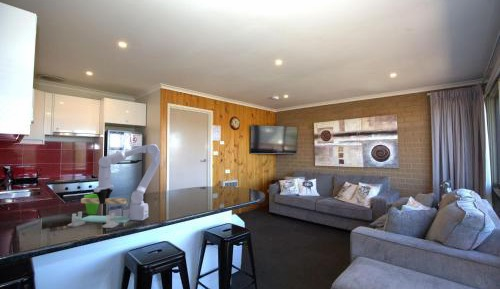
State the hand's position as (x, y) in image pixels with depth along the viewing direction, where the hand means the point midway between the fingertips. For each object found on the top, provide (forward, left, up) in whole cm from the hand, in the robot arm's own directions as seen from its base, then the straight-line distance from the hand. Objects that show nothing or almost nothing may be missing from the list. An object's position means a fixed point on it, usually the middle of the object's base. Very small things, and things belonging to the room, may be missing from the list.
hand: (103, 203), depth 136 cm
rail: (0, 0, 0) cm, 0 cm away
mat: (0, -3, -10) cm, 10 cm away
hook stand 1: (+9, +8, -10) cm, 15 cm away
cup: (+17, -15, -10) cm, 25 cm away
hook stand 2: (-9, +8, -10) cm, 15 cm away
